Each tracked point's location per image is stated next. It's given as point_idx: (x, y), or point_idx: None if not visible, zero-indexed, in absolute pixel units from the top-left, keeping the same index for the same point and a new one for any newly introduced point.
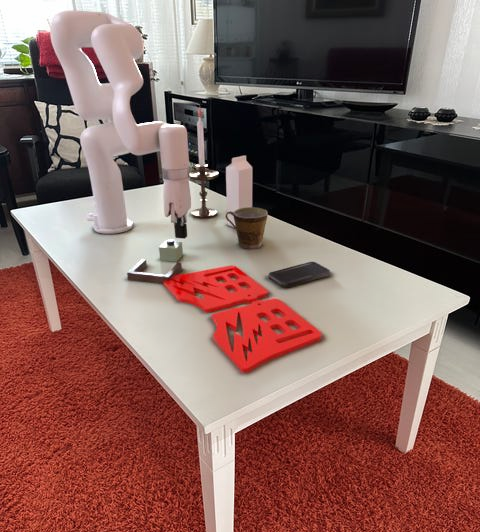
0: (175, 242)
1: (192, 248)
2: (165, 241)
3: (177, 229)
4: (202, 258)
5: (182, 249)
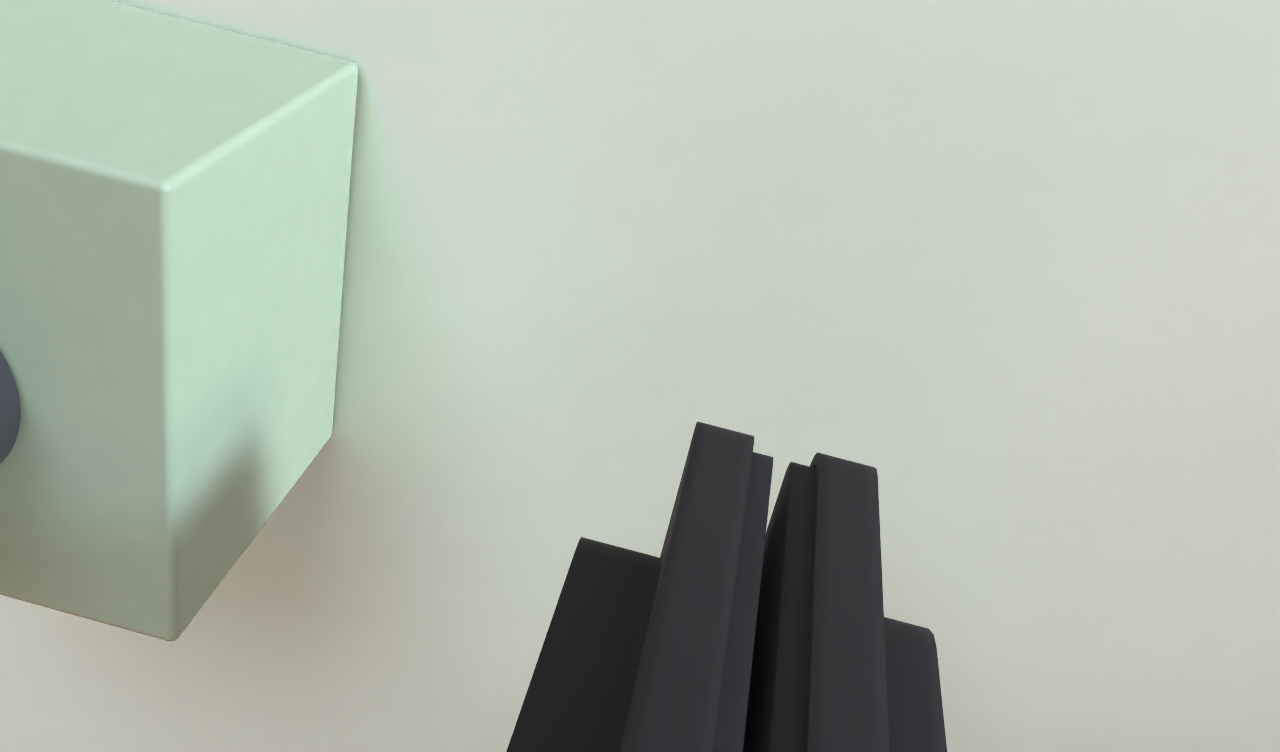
0: (96, 491)
1: None
2: (84, 190)
3: (524, 724)
4: (256, 735)
5: (264, 513)
